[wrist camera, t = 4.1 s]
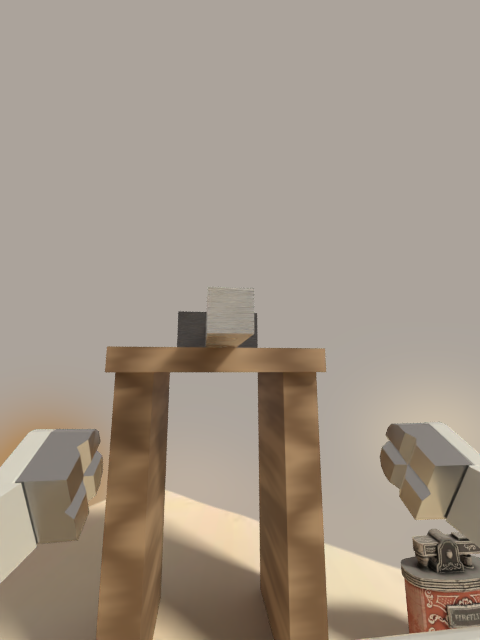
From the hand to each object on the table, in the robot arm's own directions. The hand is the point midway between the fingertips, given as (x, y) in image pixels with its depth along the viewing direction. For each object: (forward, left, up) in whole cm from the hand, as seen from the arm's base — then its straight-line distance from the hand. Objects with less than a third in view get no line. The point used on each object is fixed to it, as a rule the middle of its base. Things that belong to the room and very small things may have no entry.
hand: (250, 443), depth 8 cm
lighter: (+20, +18, -22) cm, 35 cm away
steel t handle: (0, +16, +4) cm, 16 cm away
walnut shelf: (0, +23, -22) cm, 32 cm away
